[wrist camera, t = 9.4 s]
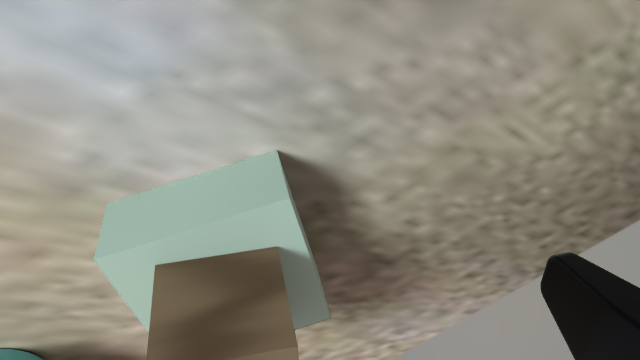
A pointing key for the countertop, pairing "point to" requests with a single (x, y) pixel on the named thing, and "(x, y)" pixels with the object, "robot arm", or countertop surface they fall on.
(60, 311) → the countertop surface
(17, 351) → the cupcake
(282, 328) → the walnut cube
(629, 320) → the robot arm
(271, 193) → the sage block
